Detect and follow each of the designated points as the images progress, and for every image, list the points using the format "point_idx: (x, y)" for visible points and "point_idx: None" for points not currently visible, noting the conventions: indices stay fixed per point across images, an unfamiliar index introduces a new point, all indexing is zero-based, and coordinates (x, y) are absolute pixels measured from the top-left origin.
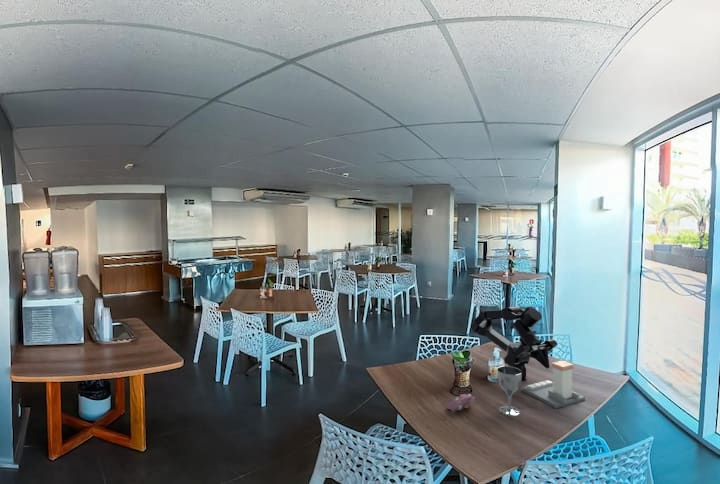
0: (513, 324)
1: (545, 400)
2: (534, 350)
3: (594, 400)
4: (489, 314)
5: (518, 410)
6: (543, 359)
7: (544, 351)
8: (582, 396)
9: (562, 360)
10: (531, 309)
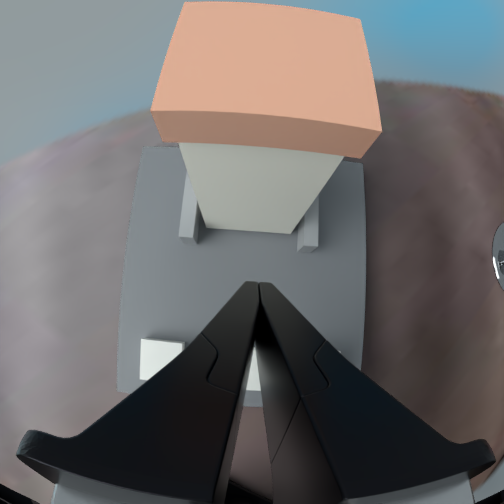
0: None
1: (364, 228)
2: (487, 468)
3: (115, 136)
4: None
5: (496, 243)
6: (322, 338)
7: (233, 426)
8: (149, 154)
9: (152, 107)
10: None
